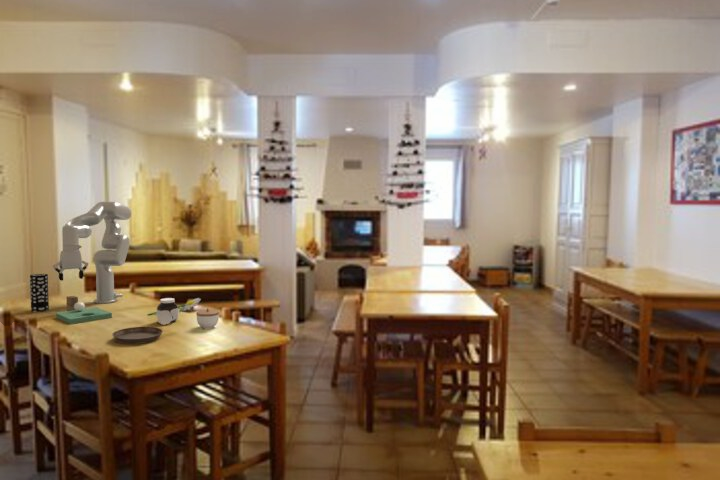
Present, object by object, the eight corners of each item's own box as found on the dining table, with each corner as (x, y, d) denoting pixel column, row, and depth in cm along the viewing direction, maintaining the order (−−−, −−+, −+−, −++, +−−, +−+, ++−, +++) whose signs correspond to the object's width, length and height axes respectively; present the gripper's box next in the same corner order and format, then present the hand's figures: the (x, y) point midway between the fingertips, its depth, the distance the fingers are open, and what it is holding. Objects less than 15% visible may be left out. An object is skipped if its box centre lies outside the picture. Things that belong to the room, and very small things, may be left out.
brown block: (74, 311, 272) (74, 295, 271) (78, 313, 268) (77, 296, 268) (66, 312, 269) (66, 296, 268) (70, 314, 265) (69, 297, 265)
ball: (82, 309, 265) (82, 300, 265) (86, 311, 262) (86, 302, 262) (72, 311, 262) (72, 301, 261) (76, 312, 258) (76, 303, 258)
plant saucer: (172, 335, 228) (172, 328, 228) (143, 347, 208) (142, 340, 208) (133, 331, 233) (133, 324, 233) (101, 343, 213) (101, 336, 213)
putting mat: (96, 311, 272) (96, 307, 272) (112, 317, 259) (111, 313, 259) (56, 317, 257) (55, 312, 257) (70, 324, 244) (70, 319, 244)
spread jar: (174, 318, 259) (173, 297, 259) (183, 322, 251) (183, 300, 251) (151, 322, 251) (150, 299, 250) (160, 326, 243) (159, 303, 242)
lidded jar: (223, 325, 246) (223, 307, 246) (210, 330, 236) (210, 311, 236) (205, 323, 250) (205, 305, 249) (191, 328, 240) (191, 309, 239)
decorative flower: (151, 321, 261) (205, 307, 280) (150, 313, 261) (204, 299, 280) (144, 318, 271) (196, 304, 290) (143, 310, 270) (195, 297, 289)
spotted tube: (42, 312, 269) (41, 276, 268) (27, 311, 269) (26, 275, 268) (52, 308, 277) (51, 273, 276) (37, 308, 277) (36, 273, 276)
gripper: (85, 246, 275) (85, 277, 276) (50, 248, 262) (51, 280, 263) (90, 247, 270) (91, 278, 271) (55, 249, 257) (55, 281, 258)
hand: (71, 279), depth 267 cm, fingers open, 9 cm apart
